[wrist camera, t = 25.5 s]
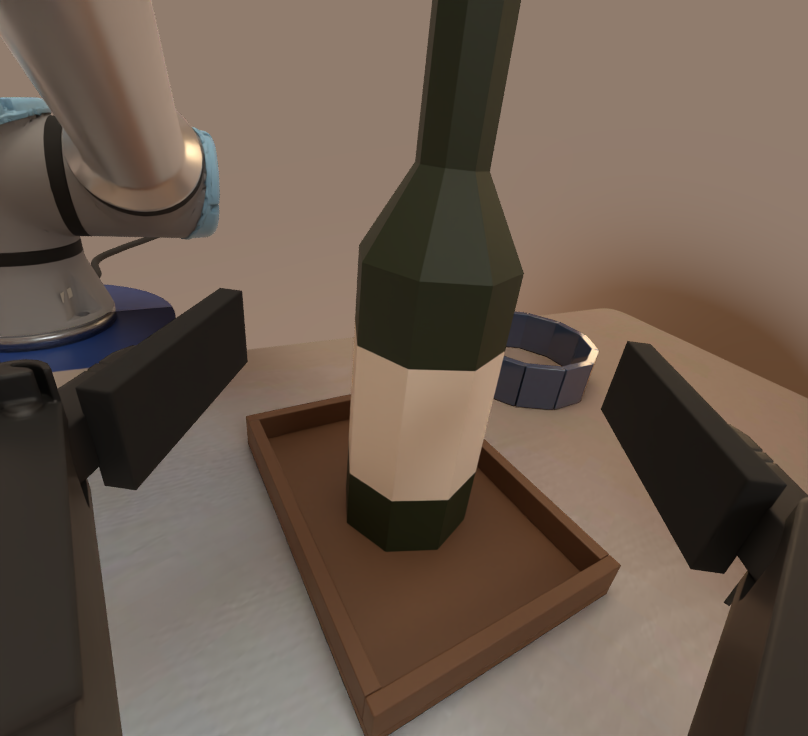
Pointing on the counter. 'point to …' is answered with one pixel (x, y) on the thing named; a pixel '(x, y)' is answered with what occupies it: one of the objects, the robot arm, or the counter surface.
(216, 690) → the counter surface
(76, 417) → the robot arm
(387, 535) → the wine bottle
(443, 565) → the tray
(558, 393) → the segmented polygonal ring
